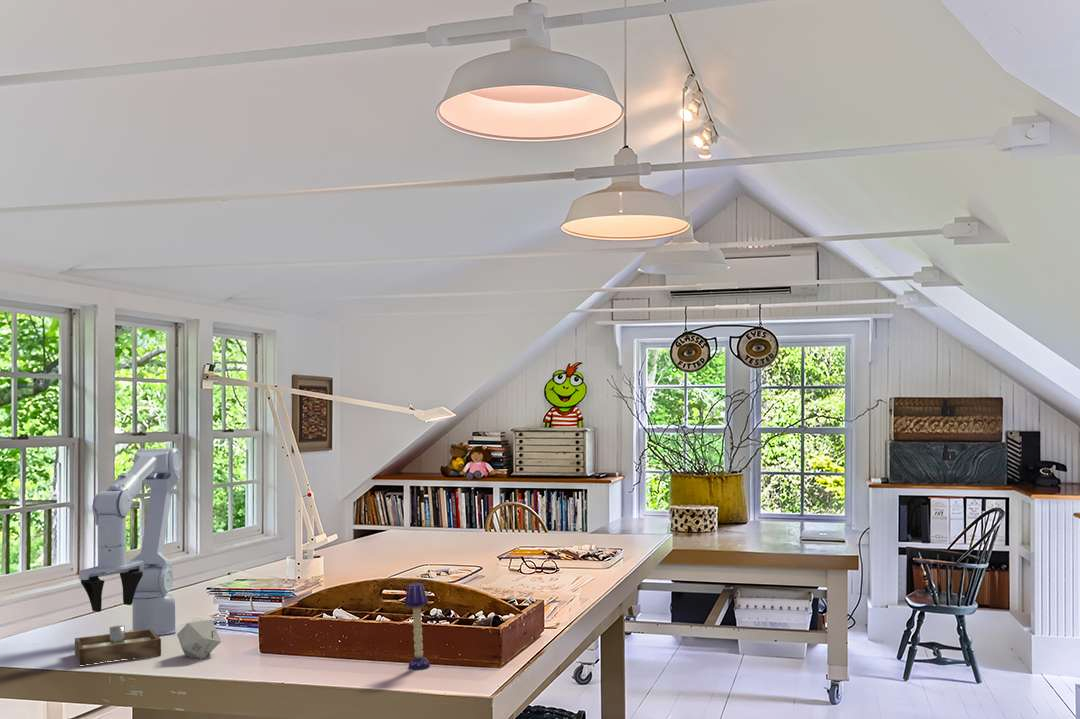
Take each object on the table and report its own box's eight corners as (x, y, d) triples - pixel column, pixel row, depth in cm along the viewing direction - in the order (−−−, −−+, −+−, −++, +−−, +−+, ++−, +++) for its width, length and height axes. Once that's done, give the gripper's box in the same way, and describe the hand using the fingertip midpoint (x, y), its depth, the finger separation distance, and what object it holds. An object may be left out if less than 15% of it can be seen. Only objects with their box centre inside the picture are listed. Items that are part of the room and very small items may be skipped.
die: (179, 666, 212) (207, 628, 213) (162, 640, 217) (189, 604, 218) (208, 671, 219) (235, 635, 219) (191, 646, 224) (217, 611, 224)
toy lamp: (419, 671, 202) (417, 586, 203) (400, 668, 204) (399, 584, 205) (434, 665, 206) (432, 582, 207) (416, 662, 209) (414, 581, 209)
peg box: (152, 644, 230) (152, 628, 230) (161, 655, 219) (160, 639, 219) (74, 654, 222) (74, 638, 222) (80, 666, 211) (79, 649, 211)
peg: (117, 652, 222) (116, 625, 223) (127, 653, 221) (127, 626, 222) (106, 656, 220) (106, 628, 220) (117, 657, 219) (117, 629, 219)
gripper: (129, 540, 231) (130, 600, 231) (70, 548, 219) (70, 612, 219) (149, 541, 228) (149, 602, 227) (90, 551, 215) (90, 615, 215)
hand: (112, 607), depth 223 cm, fingers open, 7 cm apart
